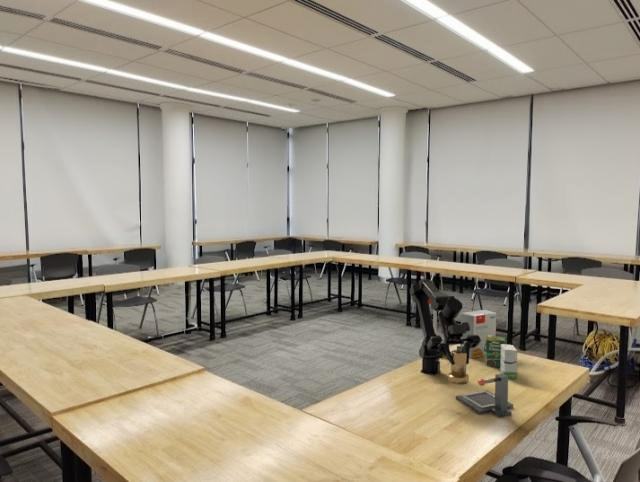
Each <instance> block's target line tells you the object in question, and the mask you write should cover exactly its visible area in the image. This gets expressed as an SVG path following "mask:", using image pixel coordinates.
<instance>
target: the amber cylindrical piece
mask: <svg viewBox="0 0 640 482" xmlns="http://www.w3.org/2000/svg"><path fill="white" fill-rule="evenodd" d="M451 355H452V358H453V362H454V364H453V365H452V364H451V363H450V371H449V372H448V375H447V377H448V378H447V379H448V382H449V383H451V384H454V385H458V386H459V385H461V386H463V385H467V384H468V383H469V380H470V379H469V378H470V377H469V374H468V373H467V363H466V360H467V353H466V352H465V351H462V347H461V346H459V345H458V346H456V349H454V350H451Z"/></svg>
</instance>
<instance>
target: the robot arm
mask: <svg viewBox="0 0 640 482" xmlns="http://www.w3.org/2000/svg"><path fill="white" fill-rule="evenodd" d="M409 294H410V297H411V300H412V302H413V303H415V304H416V306H417V310H418V314H419V320H420V323H421V327H422V333H423V338H422V339H423V341H422V340H421V341H422V346H421V345H420V348H419V350H418V354H419V355H418V356H419V357H420V358H421V362H422V363H421V365H422V366H421V370H420V372H421V373H424V374H428V375H437V374H439V372H441V361H440V359H443V356H444V357H445V358H446V359H447V361H448V362H449V363H450V365H451V364H452V365H453V364H454V362H453V358H452V355H451V354H452V351H451V349H450V346H452V345H460V344H462V351H465V352H466V353H467V360H466V365H469V363H470V358H469V351H470V348H475V347H477V346H478V344H479V343H480V342H481V339H480V337H479V336H478V335H468V336H467V338H466V339H461V337H463V333H466V331H470V326H469V324H468V322H463V323H462V324H461V323H460V324H459V323H457V322H456V318H457V317H458V316H459V315H460V313H461V311H462V309H463V303H462V302H461V301H460V300H459V299H457V298H455V296H454V295H449V294H447V293H443V292H441V291H440V290H439V289H438V288H437V287H436V285H435V284H433V281H432V280H431V279H420V280H419V281H418V282H416V283H414V284H412V285H411V287H410V288H409ZM430 299H431V304H429V303H428V300H430ZM430 305H431V307H432V309H433V311H434V310H435V311H437V312H438V311H439V313H437V314H438V315H437V321H438V322H439V325H440V328H441V331H440V333H441V334H442V335H443V339H442V336H441V335H436V334H435V331H434V327H433V323H434V321H433V320H432V313H431V310H430Z"/></svg>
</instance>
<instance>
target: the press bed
mask: <svg viewBox="0 0 640 482" xmlns="http://www.w3.org/2000/svg"><path fill="white" fill-rule="evenodd" d="M477 383H478V385H479V386H481V387H483V386H485V385H486V384H492V383H494V384H495V385H494V393H493V392H491V391H489V390H487V389H486V390H480V391H476V392H469V393H465V394H458V395H455V400H456V401H458V402H460V403H461V404H463V405H464V406H465V407H467V408H469V409H470V410H472V411H473V412H475V413H477V414H478V415H484V414H485V415H486V414H489V413H491V414H493V415H494V416H495V417H498V418H503V417H510V416H512V411H511V409H513V408H514V404H513V403H511V402H509V400H508V399H509V397H508V396H509V379H508V376H507V375H505V374H502V373H501V372H500V373H495V376H494V378H493V377H492V378H488V379H484V378H480V379H478V380H477Z"/></svg>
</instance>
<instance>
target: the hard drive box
mask: <svg viewBox="0 0 640 482" xmlns="http://www.w3.org/2000/svg"><path fill="white" fill-rule="evenodd" d="M460 318H461V319H460V321H461V323H460V324H462V323H463V322H468V324H469V326H470V331H466V333H463V337H461V339H466V338H467V336H468V335H478V336H479V337H480V339H481V342H480V343H479V344H478V346H477V347H475V348H470V351H469V359H474V358H481V357H484V356H485V357H486V336H487V335H490V336H496V334H497V333H496V331H497V312H495V311H492V310H491V311H490V310H487V309H479V310H474V311H467V312H466V311H465V312H461V315H460ZM459 345H460V346H461V347H462V344H459Z"/></svg>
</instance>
